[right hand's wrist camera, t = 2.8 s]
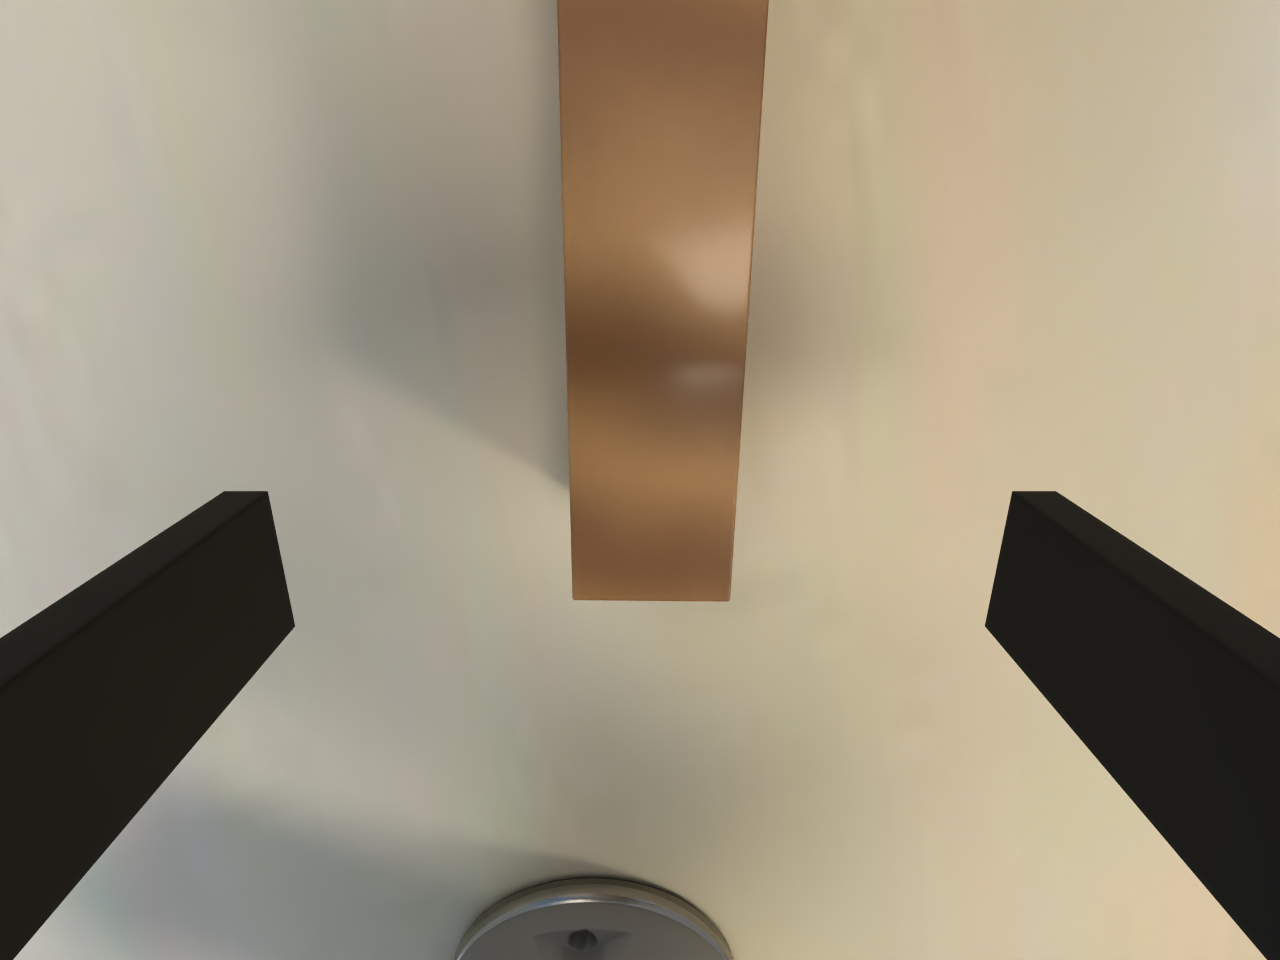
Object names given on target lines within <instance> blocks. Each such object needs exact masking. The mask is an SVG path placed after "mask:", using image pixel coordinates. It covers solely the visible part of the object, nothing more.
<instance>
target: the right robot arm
mask: <svg viewBox="0 0 1280 960" xmlns="http://www.w3.org/2000/svg"><path fill="white" fill-rule="evenodd" d="M294 627H295V623H294V618H293V613H292V609H291V604H290V599H289V594H288V589H287V584H286V579H285V574H284V569H283V564H282V559H281V555H280V550H279V545H278V540H277V535H276V530H275V525H274V520H273V515H272V510H271V505H270V501H269V496H268V491H224V492H222V493H221V494H219V495H218V496H216V497H215V498H213V499H212V500H210V501H209V502H207V503H206V504H204V505H203V506H201V507H200V508H198V509H197V510H195V511H193V512H192V513H190V514H189V515H187V516H186V517H184V518H183V519H181V520H180V521H178V522H177V523H175V524H174V525H172V526H171V527H169V528H168V529H166V530H165V531H163V532H162V533H160V534H158V535H157V536H155V537H154V538H152V539H151V540H149V541H148V542H146V543H145V544H143V545H142V546H140V547H139V548H137V549H136V550H134V551H133V552H131V553H130V554H128V555H126V556H125V557H123V558H122V559H120V560H119V561H117V562H116V563H114V564H113V565H111V566H110V567H108V568H107V569H105V570H104V571H102V572H101V573H99V574H98V575H96V576H95V577H93V578H91V579H90V580H88V581H87V582H85V583H84V584H82V585H81V586H79V587H78V588H76V589H75V590H73V591H72V592H70V593H69V594H67V595H66V596H64V597H63V598H61V599H59V600H58V601H56V602H55V603H53V604H52V605H50V606H49V607H47V608H46V609H44V610H43V611H41V612H40V613H38V614H37V615H35V616H34V617H32V618H31V619H29V620H28V621H26V622H24V623H23V624H21V625H20V626H18V627H17V628H15V629H14V630H12V631H11V632H9V633H8V634H6V635H5V636H3V637H2V638H0V960H13V959H14V958H15V957H16V955H17V954H18V953H19V952H20V951H21V950H22V948H23V947H24V946H25V945H26V944H27V942H28V941H29V940H30V939H31V938H32V937H33V935H34V934H35V933H36V932H37V931H38V929H39V928H40V927H41V926H42V925H43V924H44V922H45V921H46V920H47V919H48V918H49V916H50V915H51V914H52V913H53V912H54V911H55V909H56V908H57V907H58V906H59V905H60V903H61V902H62V901H63V900H64V899H65V898H66V896H67V895H68V894H69V893H70V892H71V890H72V889H73V888H74V887H75V886H76V885H77V883H78V882H79V881H80V880H81V879H82V877H83V876H84V875H85V874H86V873H87V872H88V870H89V869H90V868H91V867H92V866H93V864H94V863H95V862H96V861H97V860H98V859H99V857H100V856H101V855H102V854H103V853H104V851H105V850H106V849H107V848H108V847H109V846H110V844H111V843H112V842H113V841H114V840H115V838H116V837H117V836H118V835H119V834H120V833H121V831H122V830H123V829H124V828H125V827H126V825H127V824H128V823H129V822H130V821H131V820H132V818H133V817H134V816H135V815H136V814H137V812H138V811H139V810H140V809H141V808H142V807H143V805H144V804H145V803H146V802H147V801H148V799H149V798H150V797H151V796H152V795H153V793H154V792H155V791H156V790H157V789H158V788H159V786H160V785H161V784H162V783H163V782H164V780H165V779H166V778H167V777H168V776H169V775H170V773H171V772H172V771H173V770H174V769H175V767H176V766H177V765H178V764H179V763H180V762H181V760H182V759H183V758H184V757H185V756H186V754H187V753H188V752H189V751H190V750H191V749H192V747H193V746H194V745H195V744H196V743H197V741H198V740H199V739H200V738H201V737H202V736H203V734H204V733H205V732H206V731H207V730H208V728H209V727H210V726H211V725H212V724H213V723H214V721H215V720H216V719H217V718H218V717H219V715H220V714H221V713H222V712H223V711H224V710H225V708H226V707H227V706H228V705H229V704H230V702H231V701H232V700H233V699H234V698H235V697H236V695H237V694H238V693H239V692H240V691H241V689H242V688H243V687H244V686H245V685H246V684H247V682H248V681H249V680H250V679H251V678H252V676H253V675H254V674H255V673H256V672H257V671H258V669H259V668H260V667H261V666H262V665H263V663H264V662H265V661H266V660H267V659H268V658H269V656H270V655H271V654H272V653H273V652H274V650H275V649H276V648H277V647H278V646H279V645H280V643H281V642H282V641H283V640H284V639H285V637H286V636H287V635H288V634H289V633H290V632H291V630H292V629H293V628H294ZM985 627H986V628H987V629H988V630H989V632H990V633H991V634H992V635H993V636H994V637H995V639H996V640H997V641H998V642H999V643H1000V645H1001V646H1002V647H1003V648H1004V649H1005V650H1006V652H1007V653H1008V654H1009V655H1010V656H1011V658H1012V659H1013V660H1014V661H1015V662H1016V663H1017V665H1018V666H1019V667H1020V668H1021V669H1022V671H1023V672H1024V673H1025V674H1026V675H1027V676H1028V678H1029V679H1030V680H1031V681H1032V682H1033V684H1034V685H1035V686H1036V687H1037V688H1038V689H1039V691H1040V692H1041V693H1042V694H1043V695H1044V697H1045V698H1046V699H1047V700H1048V701H1049V702H1050V704H1051V705H1052V706H1053V707H1054V708H1055V710H1056V711H1057V712H1058V713H1059V714H1060V715H1061V717H1062V718H1063V719H1064V720H1065V721H1066V723H1067V724H1068V725H1069V726H1070V727H1071V728H1072V730H1073V731H1074V732H1075V733H1076V734H1077V736H1078V737H1079V738H1080V739H1081V740H1082V741H1083V743H1084V744H1085V745H1086V746H1087V747H1088V749H1089V750H1090V751H1091V752H1092V753H1093V754H1094V756H1095V757H1096V758H1097V759H1098V760H1099V762H1100V763H1101V764H1102V765H1103V766H1104V767H1105V769H1106V770H1107V771H1108V772H1109V773H1110V775H1111V776H1112V777H1113V778H1114V779H1115V780H1116V782H1117V783H1118V784H1119V785H1120V786H1121V788H1122V789H1123V790H1124V791H1125V792H1126V793H1127V795H1128V796H1129V797H1130V798H1131V799H1132V801H1133V802H1134V803H1135V804H1136V805H1137V807H1138V808H1139V809H1140V810H1141V811H1142V812H1143V814H1144V815H1145V816H1146V817H1147V818H1148V820H1149V821H1150V822H1151V823H1152V824H1153V825H1154V827H1155V828H1156V829H1157V830H1158V831H1159V833H1160V834H1161V835H1162V836H1163V837H1164V838H1165V840H1166V841H1167V842H1168V843H1169V844H1170V846H1171V847H1172V848H1173V849H1174V850H1175V851H1176V853H1177V854H1178V855H1179V856H1180V857H1181V859H1182V860H1183V861H1184V862H1185V863H1186V864H1187V866H1188V867H1189V868H1190V869H1191V870H1192V872H1193V873H1194V874H1195V875H1196V876H1197V877H1198V879H1199V880H1200V881H1201V882H1202V883H1203V885H1204V886H1205V887H1206V888H1207V889H1208V890H1209V892H1210V893H1211V894H1212V895H1213V896H1214V898H1215V899H1216V900H1217V901H1218V902H1219V903H1220V905H1221V906H1222V907H1223V908H1224V909H1225V911H1226V912H1227V913H1228V914H1229V915H1230V916H1231V918H1232V919H1233V920H1234V921H1235V922H1236V924H1237V925H1238V926H1239V927H1240V928H1241V929H1242V931H1243V932H1244V933H1245V934H1246V935H1247V937H1248V938H1249V939H1250V940H1251V941H1252V942H1253V944H1254V945H1255V946H1256V947H1257V948H1258V950H1259V951H1260V952H1261V953H1262V954H1263V955H1264V957H1265V958H1266V959H1267V960H1280V638H1278V637H1277V636H1275V635H1274V634H1272V633H1271V632H1269V631H1268V630H1266V629H1265V628H1263V627H1262V626H1260V625H1259V624H1257V623H1256V622H1254V621H1252V620H1251V619H1249V618H1248V617H1246V616H1245V615H1243V614H1242V613H1240V612H1239V611H1237V610H1236V609H1234V608H1233V607H1231V606H1230V605H1228V604H1227V603H1225V602H1224V601H1222V600H1221V599H1219V598H1217V597H1216V596H1214V595H1213V594H1211V593H1210V592H1208V591H1207V590H1205V589H1204V588H1202V587H1201V586H1199V585H1198V584H1196V583H1195V582H1193V581H1192V580H1190V579H1189V578H1187V577H1185V576H1184V575H1182V574H1181V573H1179V572H1178V571H1176V570H1175V569H1173V568H1172V567H1170V566H1169V565H1167V564H1166V563H1164V562H1163V561H1161V560H1160V559H1158V558H1157V557H1155V556H1154V555H1152V554H1150V553H1149V552H1147V551H1146V550H1144V549H1143V548H1141V547H1140V546H1138V545H1137V544H1135V543H1134V542H1132V541H1131V540H1129V539H1128V538H1126V537H1125V536H1123V535H1122V534H1120V533H1118V532H1117V531H1115V530H1114V529H1112V528H1111V527H1109V526H1108V525H1106V524H1105V523H1103V522H1102V521H1100V520H1099V519H1097V518H1096V517H1094V516H1093V515H1091V514H1090V513H1088V512H1087V511H1085V510H1083V509H1082V508H1080V507H1079V506H1077V505H1076V504H1074V503H1073V502H1071V501H1070V500H1068V499H1067V498H1065V497H1064V496H1062V495H1061V494H1059V493H1058V492H1056V491H1012V496H1011V501H1010V505H1009V510H1008V515H1007V520H1006V525H1005V530H1004V535H1003V540H1002V545H1001V550H1000V555H999V559H998V564H997V569H996V574H995V579H994V584H993V589H992V594H991V599H990V604H989V609H988V613H987V618H986V623H985ZM454 960H734V959H733V956H732V953H731V951H730V948H729V946H728V944H727V942H726V940H725V939H724V937H723V936H722V934H721V933H720V932H719V930H718V929H717V928H716V927H715V926H714V925H713V923H712V922H711V921H710V920H708V919H707V918H706V917H705V916H704V915H703V914H702V913H700V912H699V911H698V910H696V909H695V908H694V907H692V906H691V905H689V904H687V903H686V902H684V901H682V900H681V899H679V898H677V897H675V896H673V895H671V894H668V893H666V892H663V891H661V890H658V889H655V888H652V887H649V886H645V885H642V884H637V883H633V882H628V881H622V880H615V879H602V878H581V879H568V880H561V881H555V882H550V883H546V884H541V885H538V886H535V887H531V888H528V889H526V890H523V891H520V892H518V893H515V894H513V895H511V896H509V897H507V898H505V899H503V900H502V901H500V902H499V903H497V904H495V905H494V906H492V907H491V908H490V909H488V910H487V911H486V912H484V913H483V914H482V915H481V916H480V917H479V918H478V919H477V920H476V921H475V922H474V923H473V924H472V925H471V927H470V928H469V929H468V930H467V932H466V933H465V935H464V936H463V938H462V940H461V942H460V944H459V946H458V948H457V951H456V954H455V958H454Z"/></svg>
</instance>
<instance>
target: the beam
mask: <svg viewBox="0 0 1280 960" xmlns="http://www.w3.org/2000/svg"><path fill="white" fill-rule="evenodd" d="M768 3H769V0H557V13H558V52H559V90H560V129H561V168H562V206H563V245H564V284H565V322H566V361H567V400H568V438H569V477H570V516H571V554H572V593H573V600H631V601H729V600H730V590H731V575H732V559H733V544H734V528H735V513H736V497H737V482H738V467H739V451H740V436H741V420H742V405H743V389H744V374H745V358H746V343H747V327H748V312H749V297H750V281H751V266H752V250H753V235H754V219H755V204H756V188H757V173H758V157H759V142H760V127H761V111H762V96H763V80H764V65H765V49H766V34H767V18H768Z"/></svg>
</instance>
